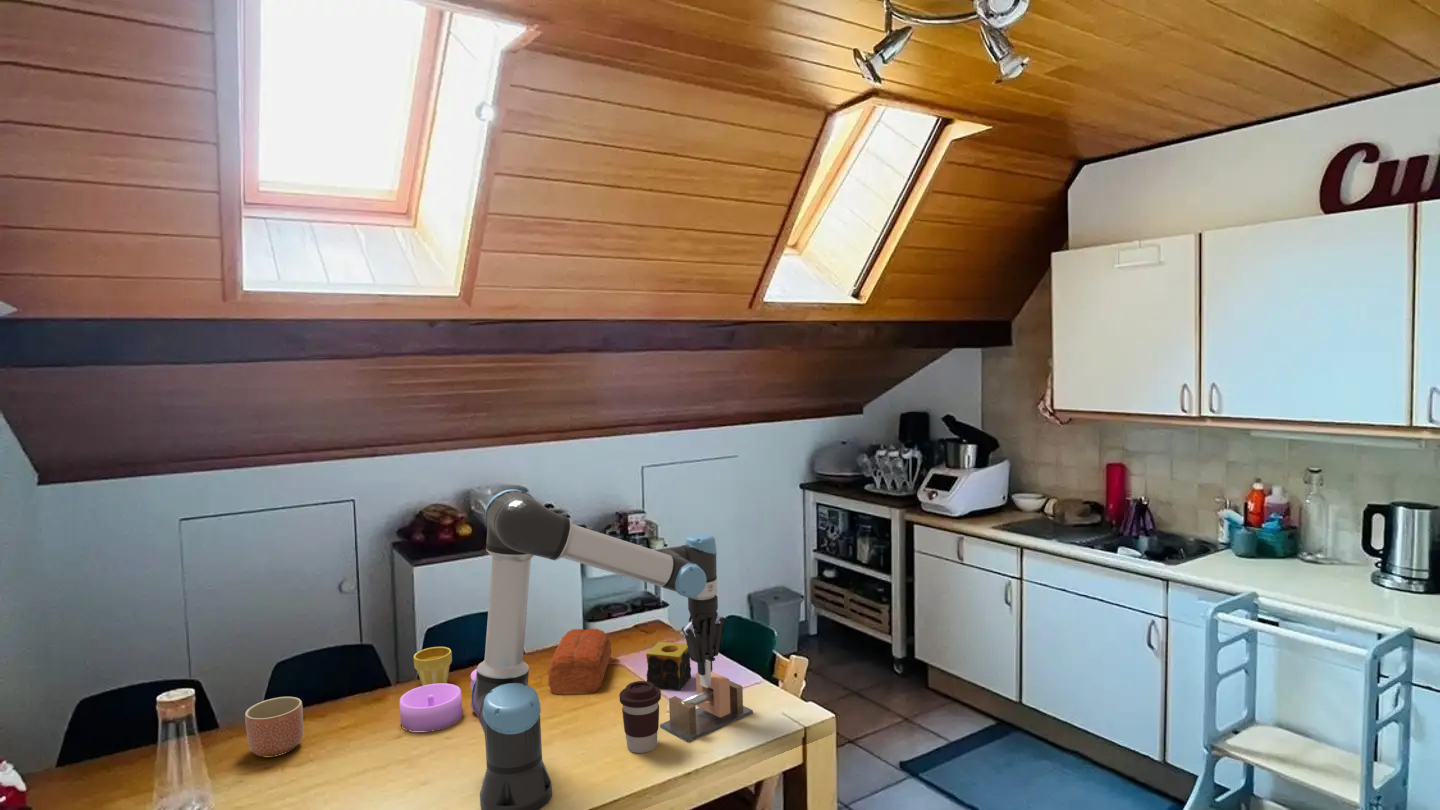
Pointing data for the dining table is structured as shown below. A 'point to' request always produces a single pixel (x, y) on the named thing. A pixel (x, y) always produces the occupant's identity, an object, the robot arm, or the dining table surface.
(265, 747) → the planter
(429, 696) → the container set
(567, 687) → the bread
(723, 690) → the collar
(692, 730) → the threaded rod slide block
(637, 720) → the coffee cup
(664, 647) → the candle
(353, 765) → the dining table surface
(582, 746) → the dining table surface
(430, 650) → the plant pot
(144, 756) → the dining table surface
